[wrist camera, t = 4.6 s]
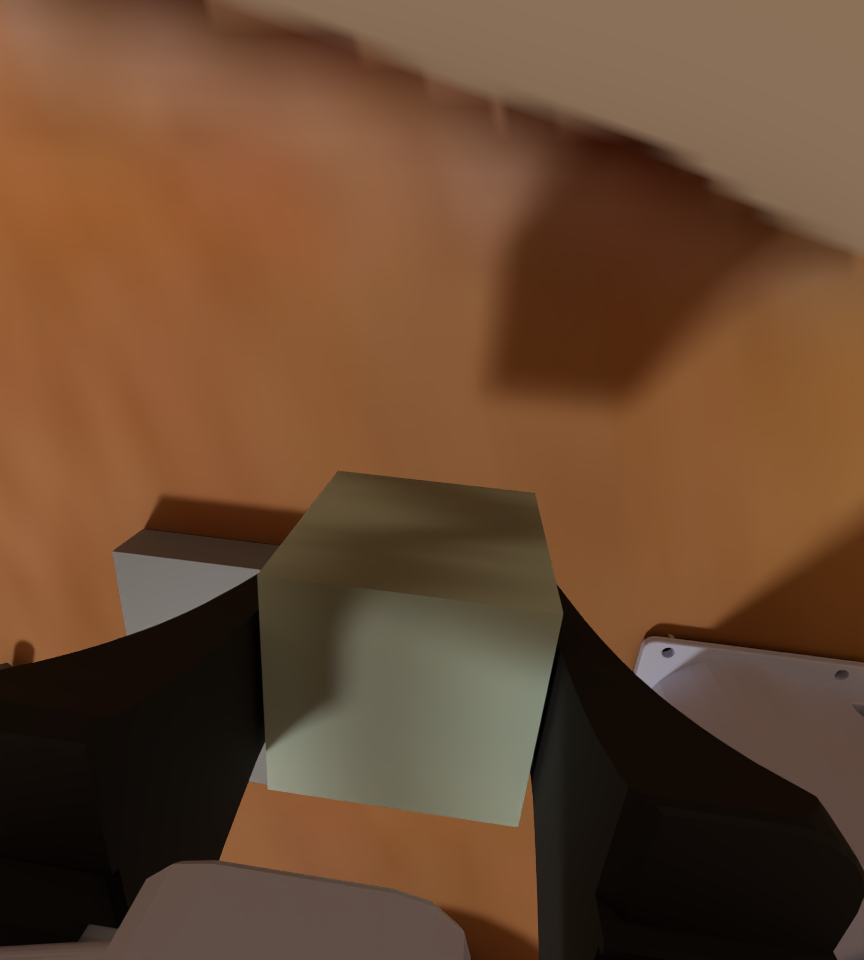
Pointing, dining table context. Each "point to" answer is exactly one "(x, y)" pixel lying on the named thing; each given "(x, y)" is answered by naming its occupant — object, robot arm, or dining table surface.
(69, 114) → the dining table surface
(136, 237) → the dining table surface
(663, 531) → the dining table surface
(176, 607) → the stand
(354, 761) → the cube
